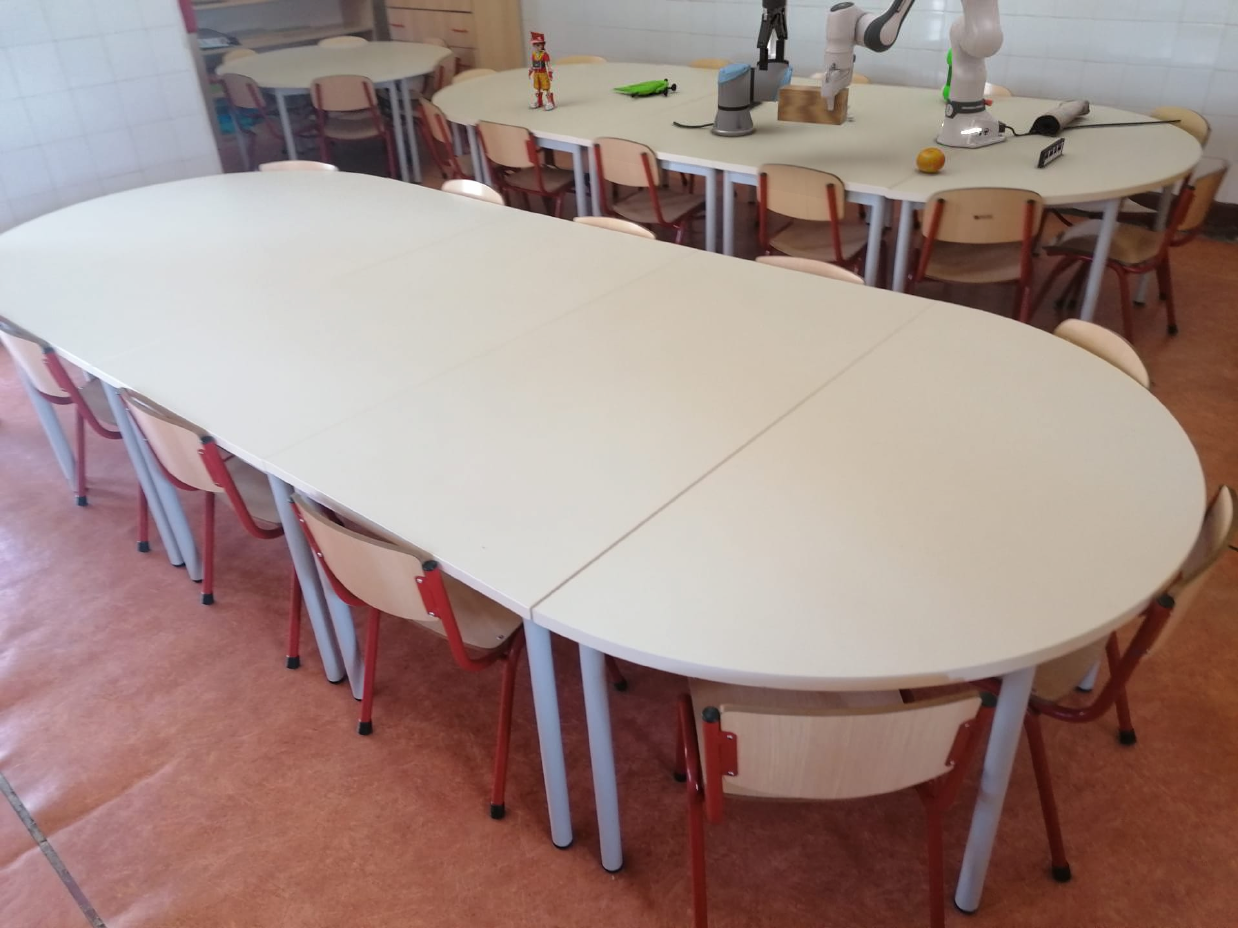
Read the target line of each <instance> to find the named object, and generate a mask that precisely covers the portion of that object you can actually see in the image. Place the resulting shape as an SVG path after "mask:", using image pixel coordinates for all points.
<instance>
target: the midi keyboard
mask: <svg viewBox="0 0 1238 928" xmlns="http://www.w3.org/2000/svg"><path fill="white" fill-rule="evenodd" d="M1065 141H1066V138H1065V137H1061V138H1059V139H1057V140H1056V141H1054V142H1053V143H1051V144H1050V145H1048V146H1046V147H1045V148H1043V149H1042V150H1041V151H1040V153H1039V158H1038V162H1037V168H1043V167H1044V166H1045V165H1047V164H1048V163H1049V162H1051V161H1053V160H1054V159H1055V158H1057V157H1058V156H1060V155H1062V154H1063V149H1064V145H1065Z"/></svg>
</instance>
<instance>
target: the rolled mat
mask: <svg viewBox="0 0 1238 928" xmlns="http://www.w3.org/2000/svg"><path fill="white" fill-rule="evenodd" d="M1090 113H1091V110H1090V101H1089V100H1087V99H1073V100H1066V101H1063V102H1060V103H1059V105H1058V106H1057V107H1055V108H1052V109H1049V111H1047V112H1045V113H1043V114H1041V115H1040V116H1038V117H1036V119H1035V120H1034V121H1033V123H1032V125H1031V127H1030V129H1029V130H1028V133H1029V132H1033V131H1040V133H1041V134H1042V135H1045V136H1051V137H1054V136H1056V135H1058V134H1059V133H1061V131H1062V130H1064V129H1063V128H1064V127H1067V125H1068V124H1069V123H1071V122H1072V121H1073V120H1075V119H1076V118H1077V117H1082V116H1083V117H1084V116H1086V115H1089V114H1090Z"/></svg>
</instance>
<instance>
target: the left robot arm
mask: <svg viewBox="0 0 1238 928" xmlns="http://www.w3.org/2000/svg"><path fill="white" fill-rule="evenodd" d="M788 1H789V0H761V6H762V13H761V22H760V28H759V31H758V36H757V43H756V49H759V59H758V60H757V61H756V66H755V67H754V66H753V67H752V65H751V63H750V62H747V61H746V62H736V63H730V64H727V65H724V66H722V67H720V69H719V70H718V75H717V111H716V114H715V118H714V120H713V122H711V123H705V124H700V125H699V124H698V125H687V124H681V123H679V122H676V121H673V122H672V124H673V125H675V126H678V127H681V128H687V129H701V128H706V127H712V133H713V134H715V135H717V136H721V137H741V136H746V135H750V134H752V133H754V127H755V126H754V121H753V118H752V115H751V111H750V109H749V102H761V103H766V102H771V103H772V102H773V103H776V102H778V92H779V88H781V87H782V86H784V85H785V84H787V85H791V81H792V77H793V70H794V67H793V66H792V65H790V61H789V59H788V58H787V57H786V49H787V48H786V46H787V40H788V39H789V31H788V20H787V19H788Z"/></svg>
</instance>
